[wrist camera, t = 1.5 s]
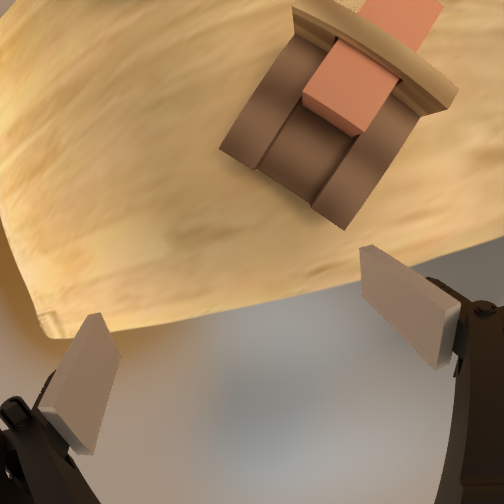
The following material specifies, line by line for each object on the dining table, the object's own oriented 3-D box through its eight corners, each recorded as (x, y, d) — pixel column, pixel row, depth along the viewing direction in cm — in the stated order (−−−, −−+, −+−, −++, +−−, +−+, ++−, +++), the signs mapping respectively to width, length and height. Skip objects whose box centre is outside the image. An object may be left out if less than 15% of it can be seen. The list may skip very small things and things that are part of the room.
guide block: (306, 47, 27) (306, -13, 15) (403, 111, 28) (459, 89, 15) (238, 150, 32) (196, 147, 19) (334, 213, 32) (354, 250, 20)
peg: (376, 0, 19) (390, -30, 14) (421, 29, 20) (444, 6, 14) (302, 105, 24) (302, 91, 19) (351, 137, 24) (364, 132, 19)
